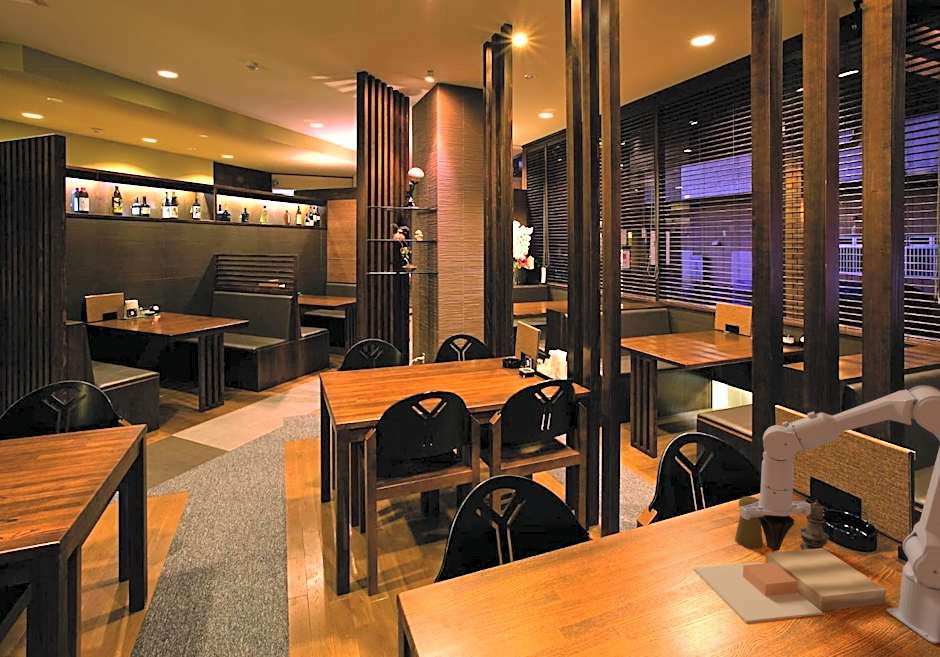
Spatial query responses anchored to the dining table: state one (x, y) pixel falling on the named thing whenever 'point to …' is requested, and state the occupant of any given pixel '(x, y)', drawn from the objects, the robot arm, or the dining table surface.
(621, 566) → the dining table surface
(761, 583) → the coaster
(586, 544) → the dining table surface
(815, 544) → the dark chess piece
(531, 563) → the dining table surface
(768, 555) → the serving board
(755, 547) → the cork
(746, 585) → the mat
